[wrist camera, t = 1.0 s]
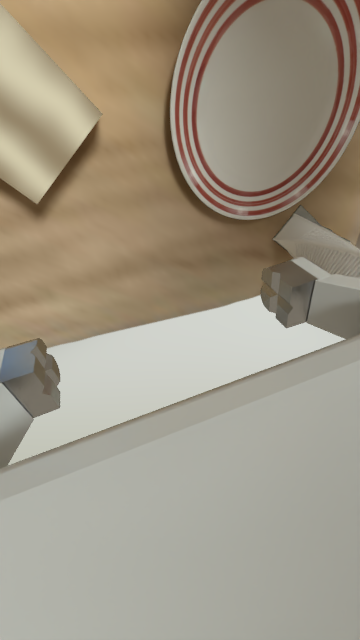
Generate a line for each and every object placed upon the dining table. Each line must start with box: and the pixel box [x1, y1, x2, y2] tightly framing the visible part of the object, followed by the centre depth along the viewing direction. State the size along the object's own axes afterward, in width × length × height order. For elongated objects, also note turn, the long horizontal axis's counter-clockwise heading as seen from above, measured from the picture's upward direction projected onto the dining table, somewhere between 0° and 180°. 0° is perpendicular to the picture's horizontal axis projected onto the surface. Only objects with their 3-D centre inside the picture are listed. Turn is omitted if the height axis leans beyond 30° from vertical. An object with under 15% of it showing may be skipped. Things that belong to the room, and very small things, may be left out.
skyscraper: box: [273, 205, 360, 278], centre depth 41 cm, size 8×8×28 cm
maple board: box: [0, 4, 102, 204], centre depth 28 cm, size 12×14×5 cm
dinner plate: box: [170, 0, 360, 220], centre depth 36 cm, size 28×27×3 cm
